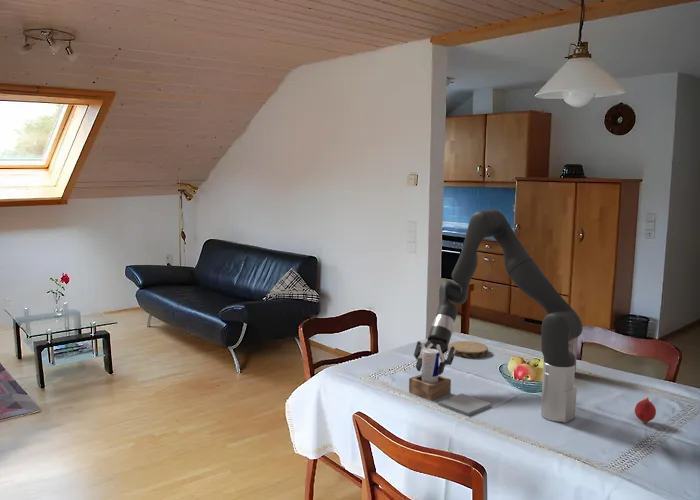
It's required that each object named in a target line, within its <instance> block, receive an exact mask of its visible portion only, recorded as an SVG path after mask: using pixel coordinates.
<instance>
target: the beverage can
mask: <svg viewBox="0 0 700 500" xmlns="http://www.w3.org/2000/svg"><path fill="white" fill-rule="evenodd" d="M422 352H423V353H422ZM422 352H421V353H422V367H421V374H422V381H423V382H426V383H429V384H433V383H436V382H438V373H437V370H438V367H439V364H440V362H439V360H440V357H439V351H438V350H436V349H426V348H423V349H422Z"/></svg>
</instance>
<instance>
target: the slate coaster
mask: <svg viewBox="0 0 700 500" xmlns="http://www.w3.org/2000/svg"><path fill="white" fill-rule="evenodd" d="M438 406H440V407H443V408H446V409H449V410H451V411H453V412H456V413H459V414H460V415H463V416H467V417H469V416H473V414H476V413H478V412H481V411H483V410H486V409H489V408H491V407H492V403H491V402H488V401H485V400H482V399H479V398H476V397H474V396H470V395H468V394H466V393H465V394H464V393H462V392H461V393H459V394H456V395H453V396H450V397H448V398H445V399H443V400H440V401H438Z"/></svg>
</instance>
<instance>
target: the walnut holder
mask: <svg viewBox="0 0 700 500" xmlns="http://www.w3.org/2000/svg"><path fill="white" fill-rule="evenodd" d="M408 379H409V380H408V393H410V394H412V395H415V396H418V397H420V398H423V399H426V400H428V401H434V400H437V399H439V398H441V397H445V396H447V395H450V394H451V391H452V388H451V387H452V386H451V385H452V380H451V379H450V378H447V377H445V376H441V375H438V382H436V383H433V384H429V383H426V382H423V381H422V373H421V374H418V375H415V376H412V377H409V378H408Z"/></svg>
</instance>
